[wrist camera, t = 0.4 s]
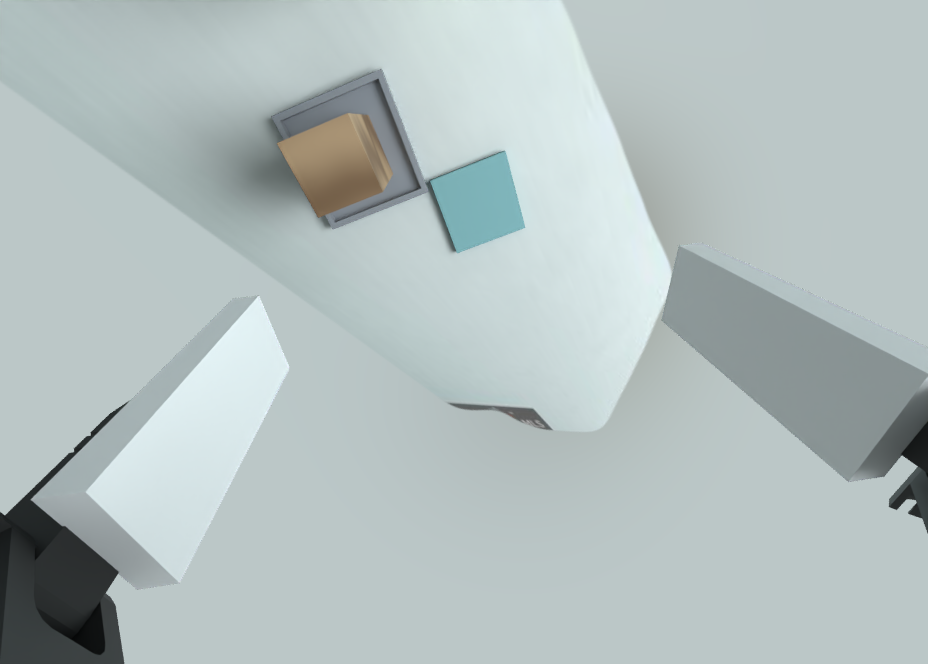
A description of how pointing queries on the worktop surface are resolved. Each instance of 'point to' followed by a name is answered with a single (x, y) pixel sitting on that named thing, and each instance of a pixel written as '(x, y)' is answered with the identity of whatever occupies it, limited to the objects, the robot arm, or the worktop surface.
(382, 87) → the gray tray
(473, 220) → the teal pad
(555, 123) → the worktop surface
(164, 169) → the worktop surface
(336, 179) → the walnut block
